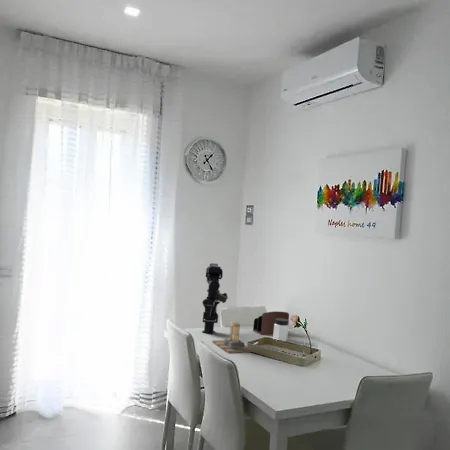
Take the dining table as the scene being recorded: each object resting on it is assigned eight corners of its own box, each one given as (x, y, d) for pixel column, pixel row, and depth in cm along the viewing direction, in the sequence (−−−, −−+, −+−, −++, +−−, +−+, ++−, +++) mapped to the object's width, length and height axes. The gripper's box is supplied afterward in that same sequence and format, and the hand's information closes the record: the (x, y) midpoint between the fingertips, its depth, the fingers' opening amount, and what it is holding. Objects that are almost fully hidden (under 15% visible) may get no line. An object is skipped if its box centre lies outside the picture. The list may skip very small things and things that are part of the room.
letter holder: (287, 333, 304) (289, 311, 304) (261, 335, 295) (263, 312, 294) (278, 329, 313) (280, 308, 312) (252, 331, 303) (254, 308, 303)
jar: (290, 340, 286) (292, 320, 286) (280, 342, 281) (282, 321, 280) (279, 337, 293) (281, 317, 292) (270, 338, 288) (271, 318, 287)
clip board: (212, 342, 267) (212, 334, 267) (234, 341, 273) (235, 334, 273) (227, 353, 249) (228, 345, 249) (251, 351, 255) (252, 344, 255)
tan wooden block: (228, 344, 261) (230, 321, 261) (233, 344, 262) (235, 321, 262) (233, 347, 257) (235, 324, 256) (238, 347, 258) (240, 323, 258)
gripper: (222, 291, 265) (220, 320, 266) (231, 287, 283) (228, 314, 284) (203, 289, 268) (201, 317, 268) (212, 285, 286) (210, 311, 287)
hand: (211, 315), depth 277 cm, fingers open, 9 cm apart
